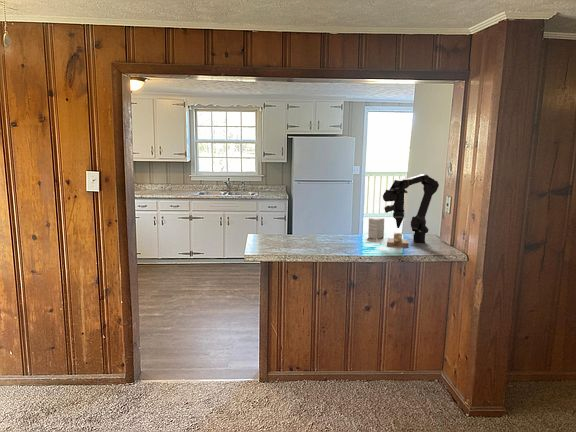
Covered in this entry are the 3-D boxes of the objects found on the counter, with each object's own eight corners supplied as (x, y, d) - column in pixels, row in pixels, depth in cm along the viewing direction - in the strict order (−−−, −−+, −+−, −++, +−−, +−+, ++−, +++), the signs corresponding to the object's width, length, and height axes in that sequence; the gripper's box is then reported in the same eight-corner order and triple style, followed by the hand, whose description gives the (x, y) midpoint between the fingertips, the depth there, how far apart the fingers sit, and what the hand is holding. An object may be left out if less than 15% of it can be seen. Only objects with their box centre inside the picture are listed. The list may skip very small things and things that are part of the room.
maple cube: (401, 240, 251) (401, 232, 250) (401, 241, 247) (401, 234, 246) (394, 239, 252) (394, 232, 251) (393, 241, 248) (393, 233, 247)
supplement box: (375, 235, 277) (375, 217, 275) (384, 237, 271) (384, 218, 269) (367, 237, 272) (368, 218, 270) (376, 238, 266) (377, 219, 264)
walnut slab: (407, 244, 254) (407, 239, 253) (407, 248, 242) (408, 243, 242) (387, 243, 257) (387, 238, 257) (386, 247, 246) (387, 242, 245)
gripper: (386, 198, 257) (385, 223, 259) (384, 202, 239) (383, 228, 241) (404, 199, 254) (403, 224, 256) (404, 202, 236) (403, 229, 238)
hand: (398, 226), depth 248 cm, fingers open, 9 cm apart
